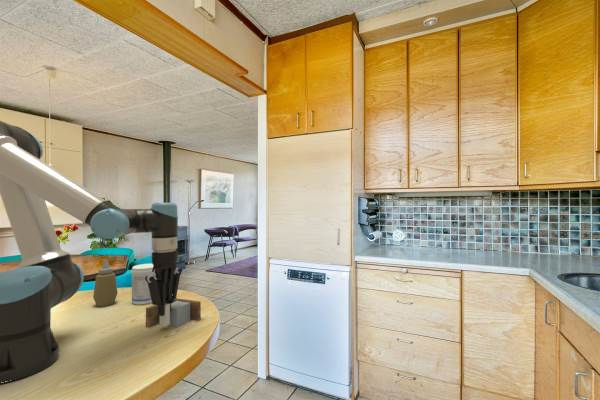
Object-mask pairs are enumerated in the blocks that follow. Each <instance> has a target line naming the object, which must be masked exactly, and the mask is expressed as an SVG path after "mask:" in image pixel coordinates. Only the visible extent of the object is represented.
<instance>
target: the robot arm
mask: <svg viewBox="0 0 600 400" xmlns="http://www.w3.org/2000/svg"><path fill="white" fill-rule="evenodd" d="M43 154H44V147H43V146H42V143H41V141H40V140H39V139H38V138H37V137H36V136H35V135H34V134H32V132H30V131H28V130H26V129H24V128H22V127H20V126H16V125H12V124H9V123H7V122H5V121H2V120H0V197H1V200H2V204H3V206H4V209H5V210H4V211H5V212H6V215H7V219H8V220H9V221H8V222H9V224H10V228H11V229H12V233H13V235H14V239H15V242H16V245H17V248H18V251H19V253H20V254H19V255H20V256H21V259H22V260H21V262H20V263H19V265H18V266H17V267H16V268H14V269H7V270H4V271H0V383H1V382H5V381H10V380H15V379H18V380H21V379H24V378H27V377H29V376H31V375H34V374H36V373H39V372H41V371H43V370H44V369H46V368H48V367H49V366H51V365H53V364H54V363H55V362H57V360H58V359H59V356H60V346H59V344H58V341H57V339H56V337H55V335H54V332H53V330H52V327H51V317H52V316H51V315H52V313H51V311H52V309H53V308H54V307H56V306H58V305H59V304H61V303H64V302H66V301H68V300H69V299H71V298H72V297H74V295H75V294H76V293H78V292H79V290H80V289H81V288H82V287H83V283H84V280H85V276H84V275H85V274H84V271H83V268H82V267H81V266H80V265H79V264H78V263H75V262H74V261H73V259H72V258H71V254H70V252H67V251H66V250H63V249H62V248H61V244H60V241H59V239H58V236H57V233H56V230H55V227H54V224H53V221H52V218H51V215H50V212H49V208H48V205H47V203H49V204H51V205H53V207H57V208H58V209H60V210H61V211H63V212H65V213H66V214H68V215H70V216H71V217H74V218H75V219H77V220H78V221H80V222H82V223H84V224H85V225H87V226H88V227H90V230H91V232H92V233H93V234H94V235H95V236H96V237H98V238H101V239H104V240H105V239H106V240H107V239H109V240H111V239H117V238H120V237H122V236H126V235H130V234H140V233H141V234H142V233H150V234H151V250H152V252H151V264H153V269H152V273H151V274H150V275H149V276H146V277H145V280H146V281H147V283H148V286H149V291H150V296H151V300H152V303H151V305H158V315H159V316H160V322H159V326H163V327H168V326H167V325H169V324H170V312H171V303H173V302H174V301H172V300H173V299H176V298H177V295H178V290H179V289H178V288H179V284H180V278H181V274H182V273H183V268H179V267H177V264H176V263H177V262H178V259H179V258H178V253H179V252H178V250H177V249H178V227H179V226H178V222H179V221H178V220H179V215H178V205H177V204H176V203H175V202H153V203H151V207H150V208H145V209H144V208H119V207H117V206H115V205H114V204H112V203H111V202H109V201H108V200H106V199H105V198H103V197H101V196H100V195H98V194H96V193H95V192H93V191H91V190H90V189H88V188H86V187H85V186H83V185H81V184H80V183H79V182H77V181H75V180H74V179H71V178H70V177H68V176H67V175H66V174H64V173H62V172H60V171H59V170H57V169H56V168H54V167H53V166H51V165H49V164H48V163H46V162H44V161H43V160H41V158H42V157H43ZM26 376H27V377H26ZM23 377H24V378H23ZM20 378H21V379H20ZM15 381H16V380H15Z"/></svg>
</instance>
